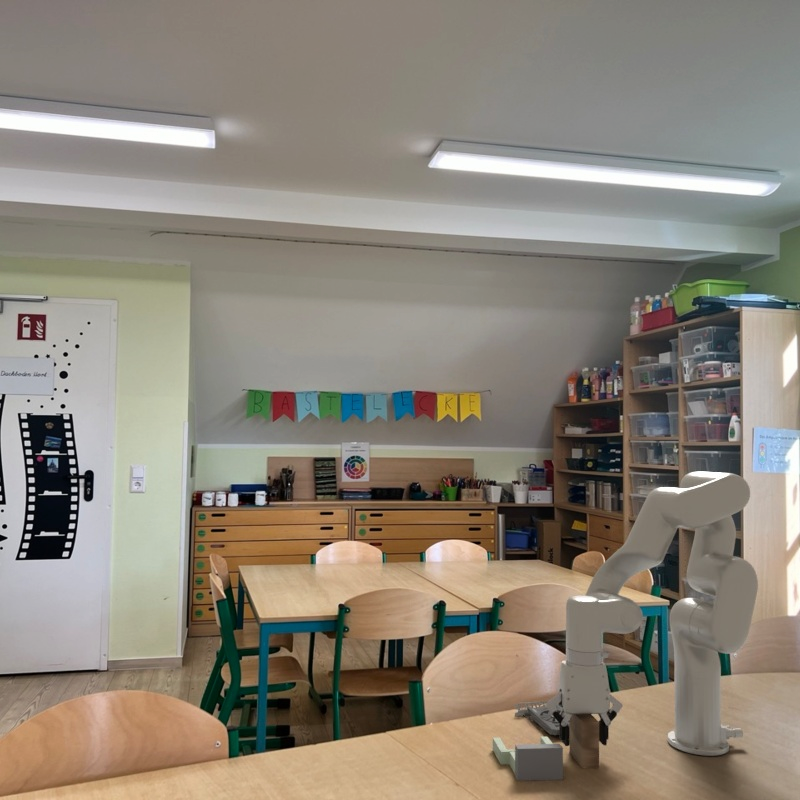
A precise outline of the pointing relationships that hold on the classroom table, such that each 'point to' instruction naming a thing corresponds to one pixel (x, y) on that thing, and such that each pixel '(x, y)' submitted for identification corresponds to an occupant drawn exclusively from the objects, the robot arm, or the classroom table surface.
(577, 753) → the brown wooden block
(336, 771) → the classroom table surface
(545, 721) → the graphics card
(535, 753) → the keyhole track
